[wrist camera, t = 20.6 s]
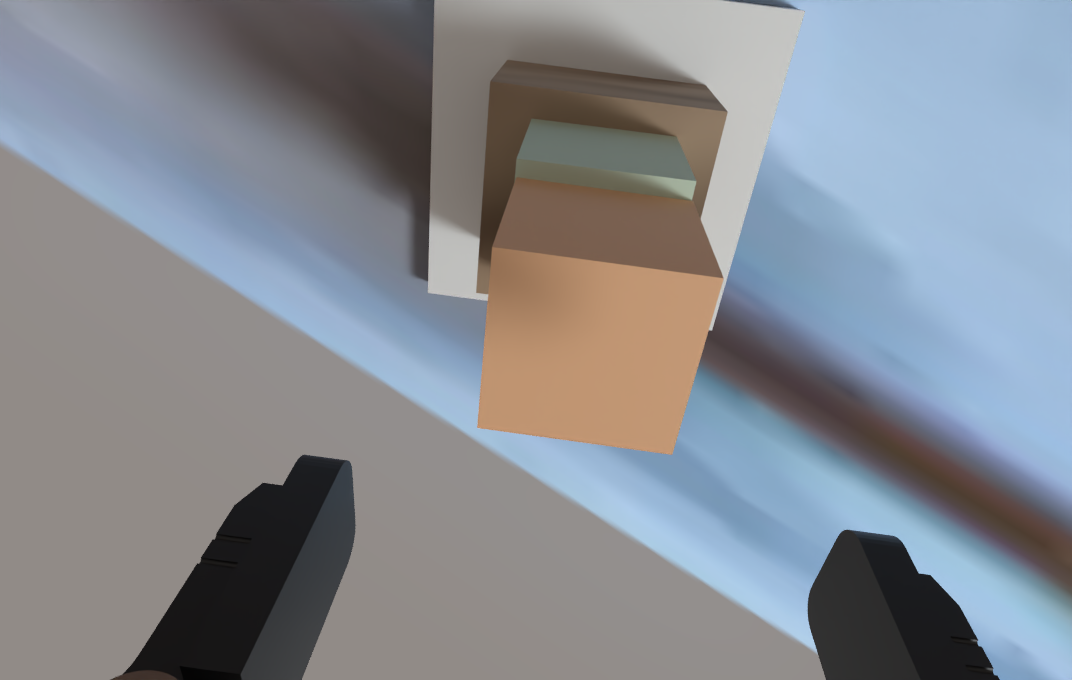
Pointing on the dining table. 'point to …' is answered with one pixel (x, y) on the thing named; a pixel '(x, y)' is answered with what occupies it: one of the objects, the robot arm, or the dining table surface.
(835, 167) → the dining table surface
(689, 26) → the grey plate
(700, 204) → the walnut base block
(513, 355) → the terracotta block
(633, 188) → the sage block
